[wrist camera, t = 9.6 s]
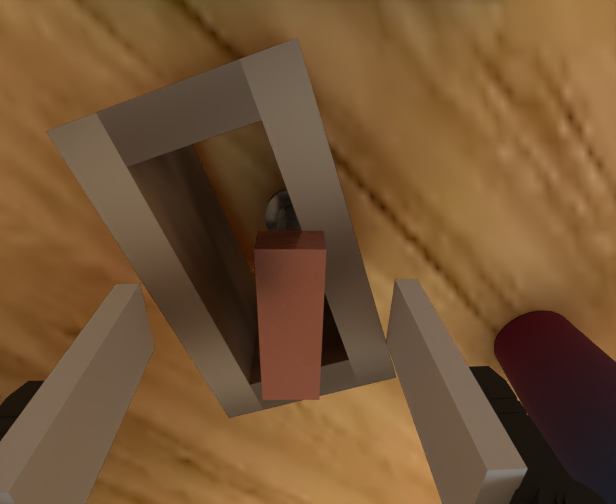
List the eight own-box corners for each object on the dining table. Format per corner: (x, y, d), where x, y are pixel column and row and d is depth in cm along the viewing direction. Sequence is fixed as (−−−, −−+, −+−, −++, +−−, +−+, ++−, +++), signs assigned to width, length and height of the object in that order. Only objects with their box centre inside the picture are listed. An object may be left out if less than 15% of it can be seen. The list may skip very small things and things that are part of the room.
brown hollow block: (133, 103, 15) (45, 131, 10) (297, 42, 14) (297, 37, 9) (246, 323, 21) (229, 417, 15) (370, 289, 20) (396, 377, 14)
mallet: (267, 262, 22) (248, 400, 13) (263, 159, 19) (235, 249, 10) (318, 262, 22) (333, 399, 13) (322, 159, 19) (344, 249, 10)
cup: (508, 291, 23) (791, 612, 10) (605, 308, 24) (984, 625, 11) (464, 370, 26) (633, 694, 13) (551, 382, 27) (793, 699, 14)
